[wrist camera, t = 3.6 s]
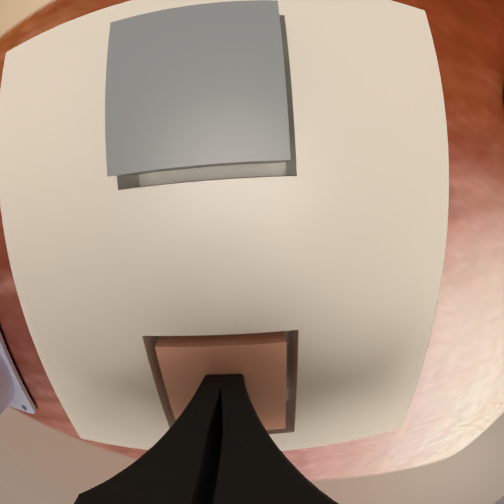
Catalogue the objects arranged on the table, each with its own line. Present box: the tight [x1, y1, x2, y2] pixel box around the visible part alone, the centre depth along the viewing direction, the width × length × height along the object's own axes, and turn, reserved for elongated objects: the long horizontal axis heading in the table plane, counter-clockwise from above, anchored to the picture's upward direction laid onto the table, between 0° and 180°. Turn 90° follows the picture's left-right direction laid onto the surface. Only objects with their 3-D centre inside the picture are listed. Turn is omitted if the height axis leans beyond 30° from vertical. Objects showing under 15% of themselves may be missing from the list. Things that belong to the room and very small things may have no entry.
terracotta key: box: [155, 331, 287, 430], centre depth 11 cm, size 4×4×2 cm
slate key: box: [105, 0, 291, 177], centre depth 7 cm, size 4×4×2 cm
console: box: [0, 0, 449, 451], centre depth 10 cm, size 16×18×3 cm
